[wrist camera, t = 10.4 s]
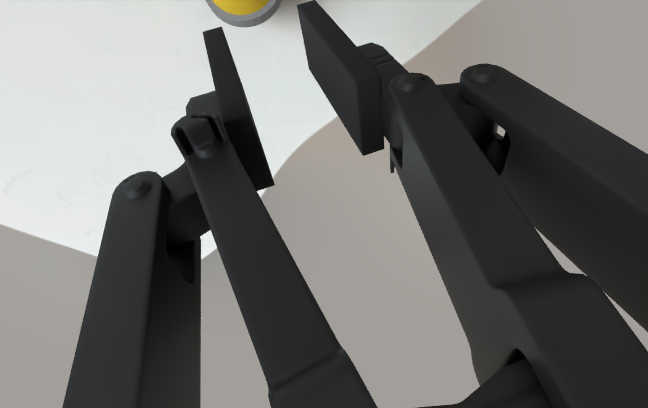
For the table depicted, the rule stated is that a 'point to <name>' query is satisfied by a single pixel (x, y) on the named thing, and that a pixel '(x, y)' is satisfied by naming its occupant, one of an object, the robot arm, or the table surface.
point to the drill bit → (244, 11)
